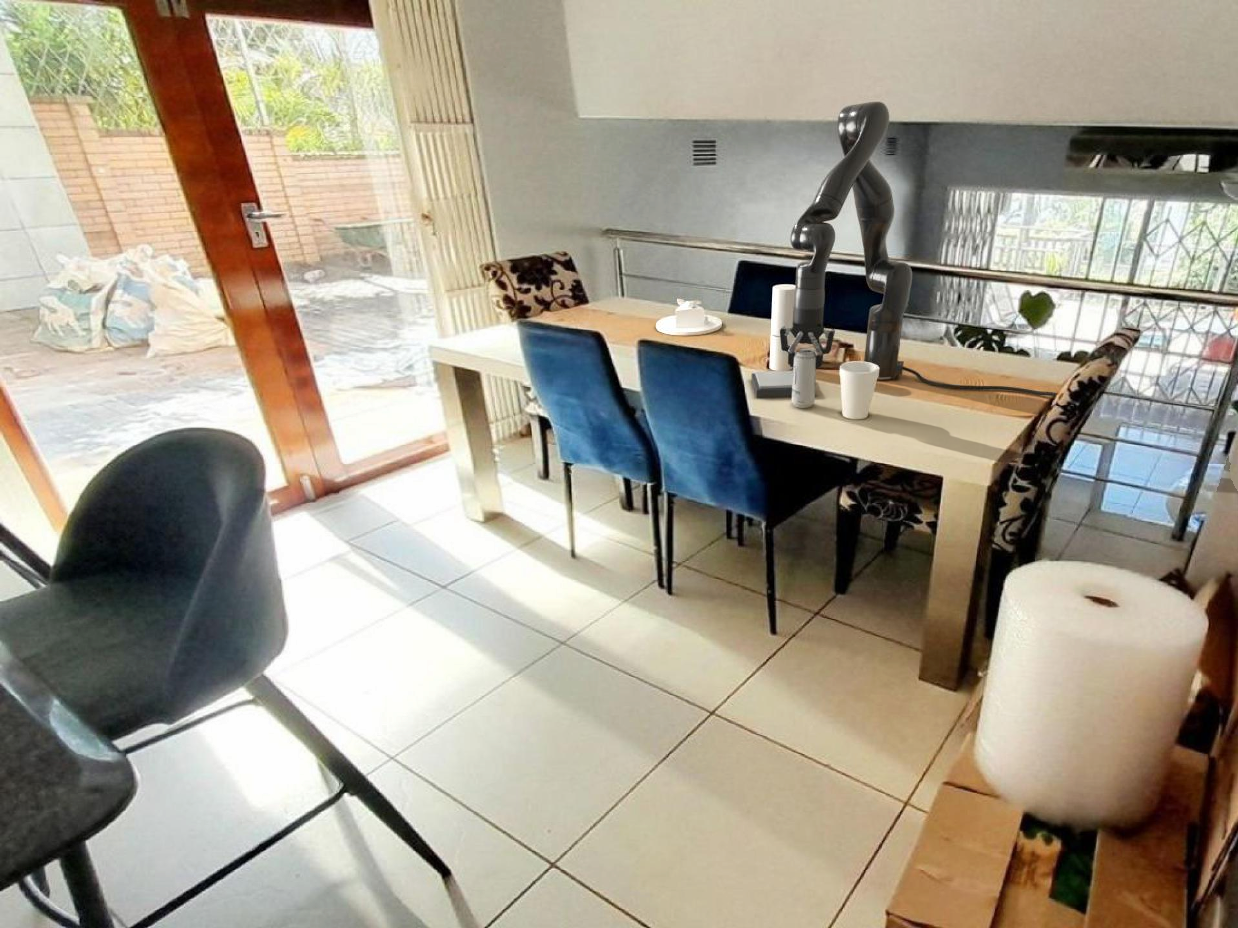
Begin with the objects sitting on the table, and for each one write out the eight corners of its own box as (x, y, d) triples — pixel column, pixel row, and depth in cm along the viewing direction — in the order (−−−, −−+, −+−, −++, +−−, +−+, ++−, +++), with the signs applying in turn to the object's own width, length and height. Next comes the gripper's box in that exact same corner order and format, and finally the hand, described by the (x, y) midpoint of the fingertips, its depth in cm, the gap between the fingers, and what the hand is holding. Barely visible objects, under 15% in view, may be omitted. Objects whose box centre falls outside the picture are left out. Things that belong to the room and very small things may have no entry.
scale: (805, 379, 209) (806, 369, 207) (814, 396, 196) (815, 385, 195) (751, 380, 210) (751, 370, 209) (756, 398, 198) (756, 387, 196)
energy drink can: (788, 401, 193) (791, 348, 186) (810, 399, 193) (813, 346, 186) (794, 409, 188) (797, 355, 181) (817, 407, 188) (820, 353, 181)
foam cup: (868, 424, 178) (873, 375, 172) (831, 418, 182) (835, 370, 176) (877, 410, 185) (882, 363, 179) (842, 405, 189) (846, 359, 184)
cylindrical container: (793, 371, 216) (797, 289, 204) (769, 371, 217) (772, 290, 206) (792, 363, 222) (797, 284, 211) (769, 363, 223) (773, 284, 212)
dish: (726, 333, 255) (726, 302, 250) (657, 337, 256) (656, 306, 251) (718, 316, 277) (718, 287, 272) (654, 319, 278) (653, 290, 273)
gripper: (777, 306, 178) (774, 369, 185) (835, 309, 172) (830, 374, 180) (783, 299, 184) (780, 360, 191) (840, 301, 178) (835, 364, 186)
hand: (805, 367), depth 186 cm, fingers closed on energy drink can, 6 cm apart
